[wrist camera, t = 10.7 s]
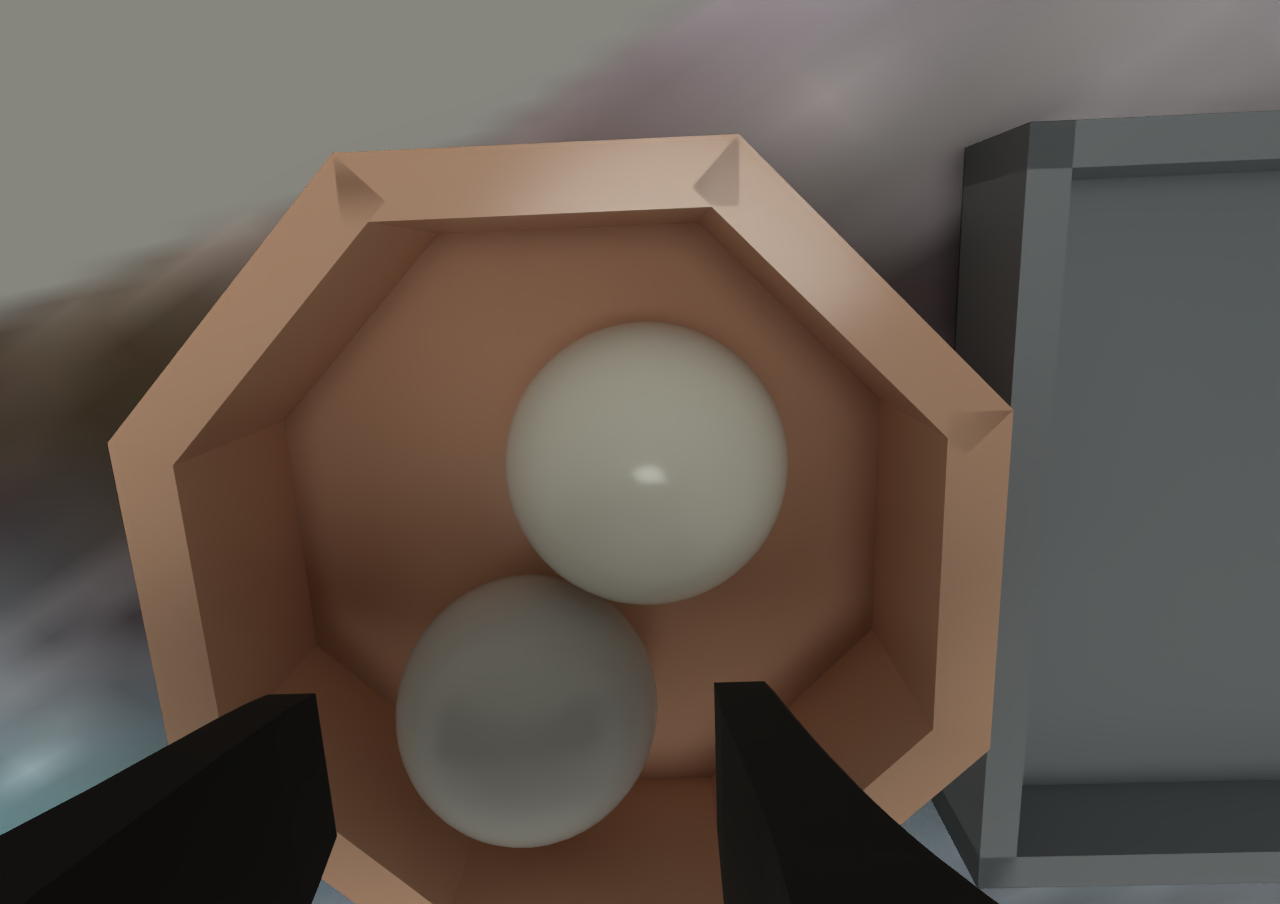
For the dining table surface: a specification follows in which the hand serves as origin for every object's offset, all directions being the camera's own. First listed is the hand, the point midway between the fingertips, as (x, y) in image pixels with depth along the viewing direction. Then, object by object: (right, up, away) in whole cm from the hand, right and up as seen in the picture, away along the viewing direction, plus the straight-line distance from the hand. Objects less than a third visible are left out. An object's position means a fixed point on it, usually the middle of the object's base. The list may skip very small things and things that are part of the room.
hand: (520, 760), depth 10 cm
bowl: (+1, +3, +4) cm, 5 cm away
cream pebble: (+1, +4, +4) cm, 6 cm away
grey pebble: (0, +1, +4) cm, 4 cm away
